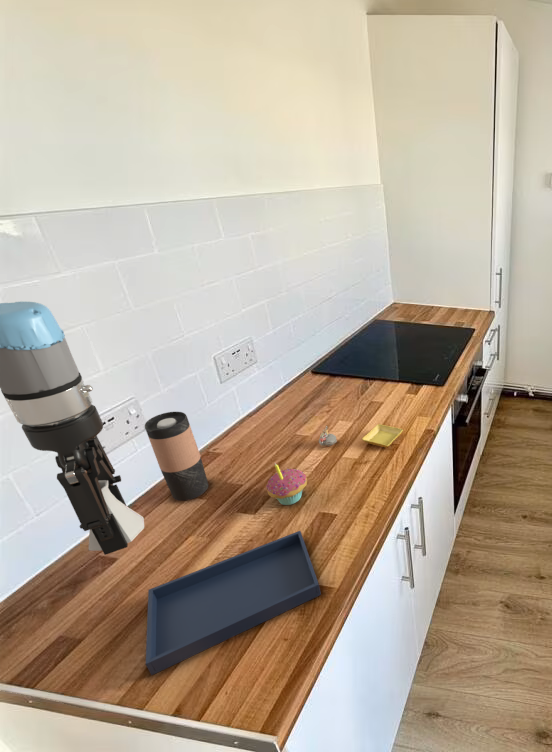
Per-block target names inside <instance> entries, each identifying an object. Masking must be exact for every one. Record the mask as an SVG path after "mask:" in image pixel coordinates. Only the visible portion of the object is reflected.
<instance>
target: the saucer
mask: <svg viewBox="0 0 552 752" xmlns="http://www.w3.org/2000/svg"><path fill="white" fill-rule="evenodd" d="M403 431H404V429H403V428H399V427H395V426H390V425H386V424H381V423H378V424H376V425H375V426H374V427H373V428H372V429H371V430H370V431H368V433H367V434H365V435H364V436H363V437H362V438H361V440H362V442H364V443H367V444H369V445H373V446H376V447H382V448H385V449H387V448H389V447H390V446H391V445H392V444H393V443H394V442H395V441H396V439H397V438H398V437H400V435H402V433H403Z"/></svg>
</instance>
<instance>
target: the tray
mask: <svg viewBox="0 0 552 752" xmlns="http://www.w3.org/2000/svg"><path fill="white" fill-rule="evenodd" d="M320 588H321V587H320V584H319V581H318V578H317V575H316V572H315V569H314V566H313V563H312V561H311V557H310V555H309V552H308V549H307V546H306V543H305V540H304V537H303V534H302V531H301V530H298V531H295V532H293V533H291V534H287V535H285V536H283V537H280V538H278V539H275V540H272V541H270V542H268V543H265V544H262V545H259V546H257V547H254V548H252V549H249V550H246V551H244V552H241V553H239V554H237V555H234V556H231V557H229V558H226V559H223V560H221V561H219V562H216V563H214V564H211V565H209V566H206V567H203V568H200V569H198V570H195V571H194V572H191V573H188V574H185V575H181V576H180V577H178V578H175V579H172V580H170V581H167V582H165V583H162V584H160V585H157V586H155V587H151V588H149V589H148V591H147V593H148V594H147V615H146V616H147V618H146V641H145V643H146V646H145V666H146V668H147V670H148V672H149V673H150V675H151V676H153V675H155V674H158V673H160V672H162V671H164V670H166V669H168V668H171V667H172V666H174V665H176V664H179V663H181V662H183V661H185V660H187V659H189V658H191V657H193V656H196V655H198V654H200V653H202V652H204V651H206V650H209V649H211V648H213V647H214V646H217V645H219V644H221V643H223V642H225V641H228V640H229V639H231V638H234V637H236V636H238V635H240V634H241V633H243V632H246V631H248V630H250V629H253V628H254V627H257V626H259V625H261V624H263V623H265V622H268V621H270V620H272V619H273V618H276V617H277V616H280V615H281V614H284V613H286V612H288V611H290V610H292V609H295V608H297V607H299V606H301V605H302V604H305V603H307V602H309V601H311V600H313V599H315V598H317V597H319V596H321V595H322V594H321V589H320Z"/></svg>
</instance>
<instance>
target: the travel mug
mask: <svg viewBox="0 0 552 752" xmlns="http://www.w3.org/2000/svg"><path fill="white" fill-rule="evenodd" d="M144 430H145V432H146V434H147V436H148V440H149V442H150V444H151V447H152V450H153V453H154V456H155V459H156V462H157V465H158V467H159V469H160V472H161V474H162V476H163V478H164V481H165V483H166V485H167V487H168V490H169V492H170V494H171V497H172V498H173V499H174V500H175V501H178V502H185V501H190V500H193V499H196V498H198V497H200V496H201V495H203V494H204V493H205V492H207V490H208V488H209V482H208V481H209V480H208V478H207V474H206V470H205V468H204V464H203V460H202V456H201V452H200V450H199V447H198V443H197V442H196V439H195V436H194V433H193V430H192V427H191V425H190V422H189V419H188V415H187V414H186V413H185V412H182V411H168V412H164V413H161V414H157V415H155V416H153V417H151V418H149V419H148V420H147V421H146V422H145V423H144Z"/></svg>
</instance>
